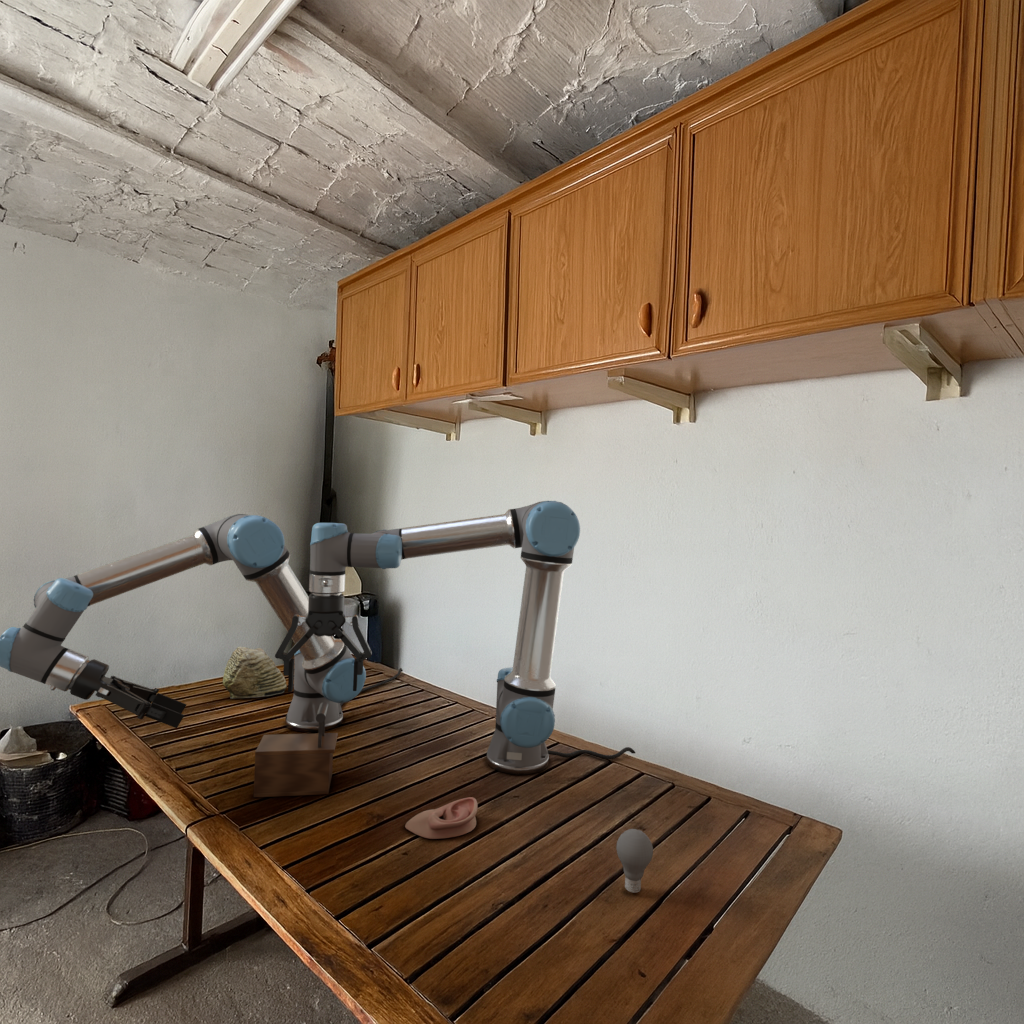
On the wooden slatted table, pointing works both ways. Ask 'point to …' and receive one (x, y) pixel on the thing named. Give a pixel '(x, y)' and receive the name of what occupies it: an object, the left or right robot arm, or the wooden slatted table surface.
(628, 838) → the light bulb
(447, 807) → the anatomical model
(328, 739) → the lid
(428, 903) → the wooden slatted table surface
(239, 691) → the fossil
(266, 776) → the chest
